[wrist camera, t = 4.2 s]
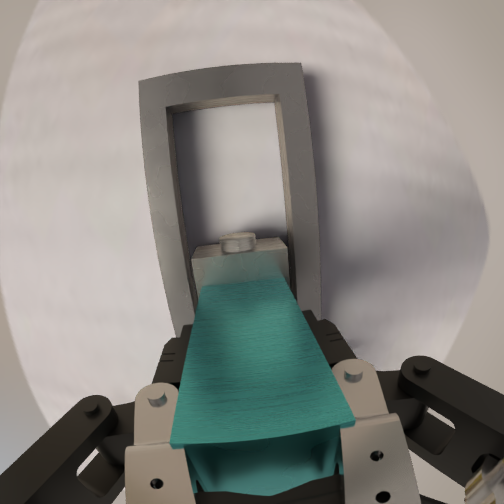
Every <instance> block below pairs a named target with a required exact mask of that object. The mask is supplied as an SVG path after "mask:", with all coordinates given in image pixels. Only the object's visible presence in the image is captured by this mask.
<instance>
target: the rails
mask: <svg viewBox="0 0 504 504" xmlns="http://www.w3.org/2000/svg"><path fill="white" fill-rule="evenodd" d="M267 102H274V103H275V111H276V120H277V128H278V137H279V147H280V156H281V166H282V176H283V187H284V198H285V209H286V221H287V234H288V248H289V262H290V278H291V292H292V294H293V296H294V298H295V300H296V302H297V304H298V305H299V307H300V309H301V311H304V310H312V312H313V314H314V315H315V317H316V319H317V320H321V271H320V242H319V222H318V206H317V192H316V179H315V168H314V157H313V148H312V138H311V130H310V121H309V113H308V106H307V98H306V91H305V85H304V78H303V72H302V66H301V63H259V64H242V65H230V66H220V67H212V68H204V69H197V70H191V71H184V72H179V73H173V74H168V75H163V76H158V77H154V78H149V79H145V80H141V81H139V106H140V123H141V136H142V148H143V158H144V168H145V176H146V184H147V192H148V199H149V206H150V213H151V220H152V226H153V232H154V238H155V243H156V249H157V254H158V259H159V265H160V270H161V274H162V279H163V284H164V289H165V293H166V297H167V302H168V306H169V310H170V314H171V319H172V323H173V327H174V330H175V334H176V338H177V337H180V335H181V331H182V328H183V325H188V324H193V322H194V318H195V313H196V309H197V305H198V300H197V295H196V290H195V284H194V279H193V273H192V268H191V262H190V256H189V250H188V243H187V237H186V230H185V224H184V217H183V210H182V202H181V195H180V187H179V178H178V170H177V161H176V151H175V141H174V130H173V119H172V114H173V113H179V112H185V111H191V110H198V109H205V108H212V107H220V106H229V105H240V104H252V103H267Z"/></svg>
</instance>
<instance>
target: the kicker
mask: <svg viewBox="0 0 504 504" xmlns="http://www.w3.org/2000/svg"><path fill="white" fill-rule="evenodd" d="M219 240H220V244H214V245H206V246H197V248H196V250H195V252H194V254H193V256H192V259H191V262H192V267H193V273H194V279H195V284H196V290H197V295H198V305H197V309H196V313H195V318H194V322H193V327H192V331H191V336H190V340H189V345H188V349H187V354H186V359H185V363H184V368H183V373H182V378H181V383H180V388H179V393H178V398H177V403H176V409H175V414H174V420H173V425H172V431H171V436H170V442H169V444H170V446H184V448H185V450H186V452H187V454H188V456H189V458H190V460H191V461H192V463H193V465H194V467H195V469H196V471H197V473H198V474H199V476H200V478H201V480H202V481H203V483H204V485H205V487H206V488H207V490H208V492H214V491H229V492H235V493H243V494H251V495H262V496H272V495H275V494H278V493H281V492H284V491H286V490H289V489H292V488H294V487H297V486H299V485H302V484H304V483H307V482H309V481H311V480H315V479H320V478H324V477H328V476H330V473H331V469H332V464H333V460H334V455H335V450H336V445H337V440H338V435H339V429H340V427H341V426H345V425H349V424H353V423H355V422H356V419H355V417H354V415H353V413H352V411H351V408H350V406H349V404H348V402H347V400H346V398H345V396H344V394H343V392H342V390H341V388H340V386H339V384H338V382H337V380H336V378H335V376H334V374H333V372H332V370H331V368H330V366H329V364H328V362H327V360H326V358H325V356H324V354H323V352H322V350H321V348H320V346H319V345H318V343H317V341H316V339H315V337H314V335H313V333H312V331H311V329H310V327H309V325H308V323H307V321H306V319H305V317H304V315H303V313H302V311H301V309H300V307H299V305H298V304H297V302H296V300H295V298H294V296H293V294H292V292H291V290H290V278H289V263H288V248H287V247H286V245H285V244H284V243H283V242H282V240H281V239H280V238H279V237H273V238H264V239H256V237H255V233H251V232H239V233H232V234H227V235H224V236H221V237H220V238H219Z"/></svg>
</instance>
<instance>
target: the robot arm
mask: <svg viewBox="0 0 504 504" xmlns="http://www.w3.org/2000/svg"><path fill="white" fill-rule="evenodd" d="M302 313H303V315H304V317H305V319H306V321H307V323H308V325H309V327H310V329H311V331H312V333H313V335H314V337H315V339H316V341H317V343H318V345H319V346H320V348H321V350H322V352H323V354H324V356H325V358H326V360H327V362H328V364H329V366H330V368H331V370H332V372H333V374H334V376H335V378H336V380H337V382H338V384H339V386H340V388H341V390H342V392H343V394H344V396H345V398H346V400H347V402H348V404H349V406H350V408H351V411H352V413H353V415H354V417H355V419H356V422H355V423H353V424H349V425H345V426H341V427H340V429H339V435H338V440H337V445H336V450H335V455H334V460H333V464H332V469H331V473H330V476H328V477H324V478H320V479H315V480H311V481H309V482H307V483H304V484H302V485H299V486H297V487H294V488H292V489H289V490H286V491H284V492H281V493H278V494H275V495H272V496H262V495H251V494H243V493H235V492H229V491H214V492H208V490H207V488H206V487H205V485H204V483H203V481H202V480H201V478H200V476H199V474H198V473H197V471H196V469H195V467H194V465H193V463H192V461H191V460H190V458H189V456H188V454H187V452H186V450H185V448H184V446H170V444H169V442H170V436H171V431H172V425H173V420H174V414H175V409H176V403H177V398H178V393H179V388H180V383H181V378H182V373H183V368H184V363H185V359H186V354H187V349H188V345H189V340H190V336H191V331H192V327H193V324H188V325H183V328H182V331H181V335H180V337H177V338H171V339H170V340H169V341H168V342H167V343H166V344H165V345H164V348H163V351H162V355H161V357H160V360H159V361H160V362H159V363H158V366H157V369H156V372H155V375H154V378H153V382H152V384H150V385H148V386H146V387H144V388H143V389H141V390H140V391H139V392H138V394H137V395H136V398H135V401H134V402H131V403H127V404H121V405H116V406H112V404H111V402H110V400H109V399H108V398H106V397H104V396H101V395H92V396H88V397H85V398H83V399H82V400H80V401H79V402H78V403H77V404H76V405H75V406H74V407H72V408H71V409H70V410H69V411H68V412H67V413H66V414H65V415H64V416H63V417H62V418H61V419H60V420H59V421H57V422H56V423H55V424H54V425H53V426H52V427H51V428H50V429H49V430H48V431H47V432H46V433H45V434H44V435H43V436H42V437H40V438H39V439H38V440H37V441H36V442H35V443H34V444H33V445H32V446H31V447H30V448H29V449H28V450H27V451H25V452H24V453H23V454H22V455H21V456H20V457H19V458H18V459H17V460H16V461H15V462H14V463H13V464H12V465H11V466H10V467H9V468H8V469H6V470H5V471H4V472H3V473H2V474H1V475H0V504H112V503H113V501H114V500H115V499H116V497H117V496H118V495H119V493H120V492H121V491H122V490H123V488H124V487H125V494H126V504H446V503H443V502H441V501H438V500H435V499H432V498H429V497H426V496H423V495H421V494H419V491H418V486H417V482H416V478H415V474H414V469H413V465H412V461H411V457H410V454H409V450H411V451H412V452H414V453H415V454H417V455H418V456H419V457H421V458H422V459H423V460H425V461H426V462H428V463H429V464H430V465H432V466H433V467H435V468H436V469H438V470H439V471H440V472H442V473H443V474H445V475H447V476H448V477H449V478H451V479H452V480H454V481H455V482H457V483H458V484H460V485H461V486H463V487H464V488H465V500H464V501H465V504H504V395H503V394H501V393H499V392H497V391H495V390H493V389H491V388H489V387H487V386H485V385H483V384H481V383H479V382H477V381H475V380H474V379H471V378H470V377H468V376H466V375H464V374H462V373H460V372H458V371H456V370H454V369H452V368H450V367H448V366H446V365H444V364H442V363H440V362H439V361H437V360H435V359H433V358H430V357H427V356H413V357H410V358H408V359H406V360H405V361H404V362H403V363H402V366H401V369H400V370H398V371H376V370H375V368H374V367H373V365H371V364H370V363H368V362H366V361H364V360H360V359H357V358H356V356H355V355H354V353H353V352H352V350H351V349H350V347H349V346H348V344H347V343H346V341H345V339H343V336H342V335H341V333H339V331H338V329H337V328H336V326H335V325H334V324H333V323H331V322H329V321H328V320H326V319H324V320H317V319H316V317H315V315H314V314H313V312H312V310H304V311H302ZM428 408H431V409H433V410H434V411H436V412H437V413H439V414H441V415H442V416H444V417H445V418H447V419H449V420H450V421H451V422H452V423H453V424H454V426H455V429H454V428H452V427H450V426H449V425H447V424H446V423H444V422H442V421H441V420H439V419H438V418H436V417H434V416H433V415H431V414H430V413H428V412H427V410H428ZM95 448H96V449H97V450H98V452H99V453H98V454H97V455H96V456H95V457H94V458H93V460H92V461H91V462H90V463H89V464H88V465H87V466H86V468H85V469H84V470H83V471H82V472H81V473H80V474H79V476H77V475H76V473H77V469H78V467H79V466H80V465H81V464H82V463H83V462H84V461H85V459H86V458H87V457H88V456H89V455H90V454H91V453H92V452H93V451H94V449H95ZM408 449H409V450H408Z"/></svg>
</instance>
